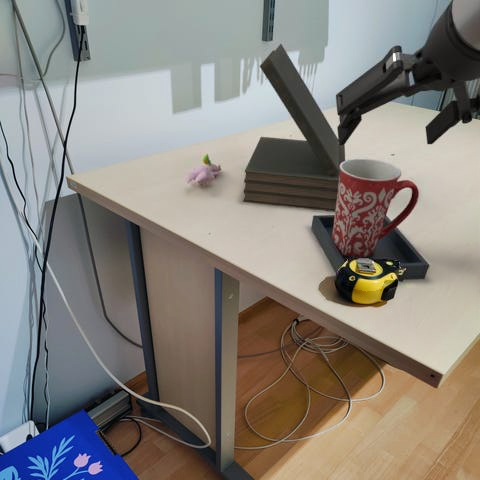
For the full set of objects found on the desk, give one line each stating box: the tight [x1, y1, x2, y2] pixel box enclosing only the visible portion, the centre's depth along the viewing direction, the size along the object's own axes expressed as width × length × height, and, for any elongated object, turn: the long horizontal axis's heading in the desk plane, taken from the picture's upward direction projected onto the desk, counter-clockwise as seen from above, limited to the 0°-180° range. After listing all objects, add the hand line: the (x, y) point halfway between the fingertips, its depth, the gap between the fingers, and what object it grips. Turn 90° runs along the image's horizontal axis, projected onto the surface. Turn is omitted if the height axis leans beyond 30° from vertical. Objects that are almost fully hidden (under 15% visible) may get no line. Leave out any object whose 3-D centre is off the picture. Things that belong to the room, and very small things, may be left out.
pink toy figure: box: [185, 153, 223, 186], centre depth 91 cm, size 6×6×15 cm
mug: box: [332, 157, 420, 258], centre depth 67 cm, size 13×9×14 cm
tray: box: [310, 214, 431, 281], centre depth 71 cm, size 14×18×3 cm
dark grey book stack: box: [242, 43, 346, 212], centre depth 85 cm, size 23×20×25 cm
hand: (385, 136), depth 62 cm, fingers open, 13 cm apart
